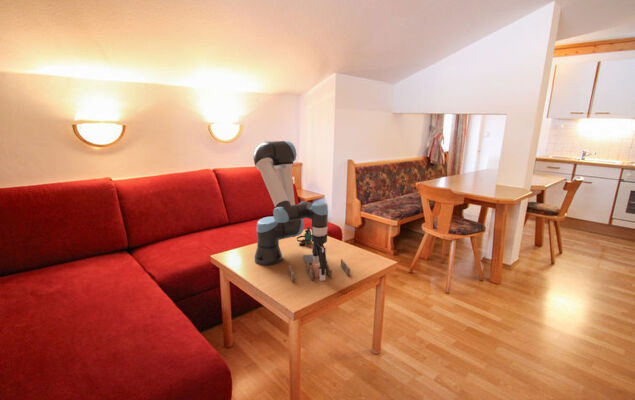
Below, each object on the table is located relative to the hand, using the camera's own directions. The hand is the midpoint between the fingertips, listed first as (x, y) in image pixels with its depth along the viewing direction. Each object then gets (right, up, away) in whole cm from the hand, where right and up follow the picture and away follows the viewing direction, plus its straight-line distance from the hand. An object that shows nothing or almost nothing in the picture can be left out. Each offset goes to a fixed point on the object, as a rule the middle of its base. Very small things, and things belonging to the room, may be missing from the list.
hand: (318, 273), depth 161 cm
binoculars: (-9, +9, +39) cm, 41 cm away
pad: (-2, +4, +17) cm, 17 cm away
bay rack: (0, 0, 0) cm, 0 cm away
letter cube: (0, 0, 0) cm, 0 cm away
